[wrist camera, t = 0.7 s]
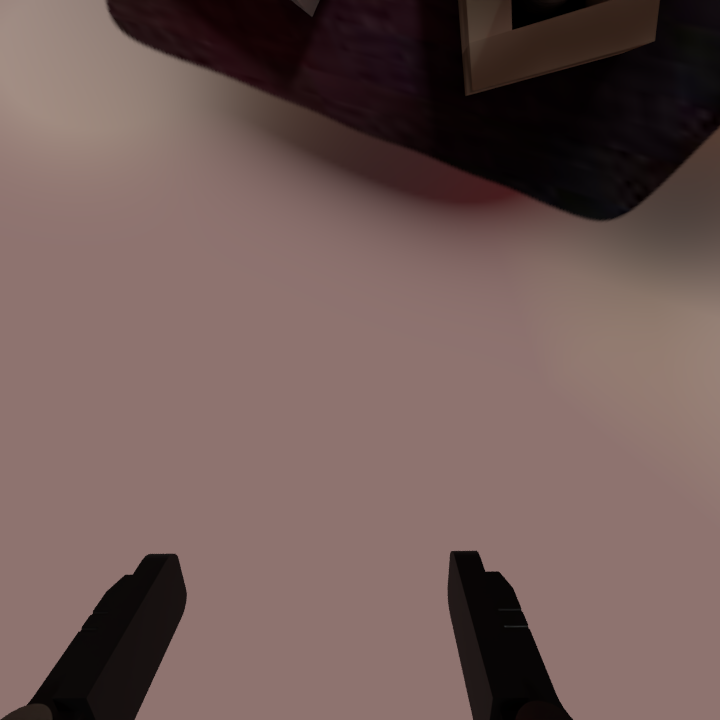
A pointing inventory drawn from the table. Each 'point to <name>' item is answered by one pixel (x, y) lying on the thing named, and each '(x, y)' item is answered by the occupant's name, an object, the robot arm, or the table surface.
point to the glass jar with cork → (535, 8)
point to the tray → (307, 5)
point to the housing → (547, 39)
